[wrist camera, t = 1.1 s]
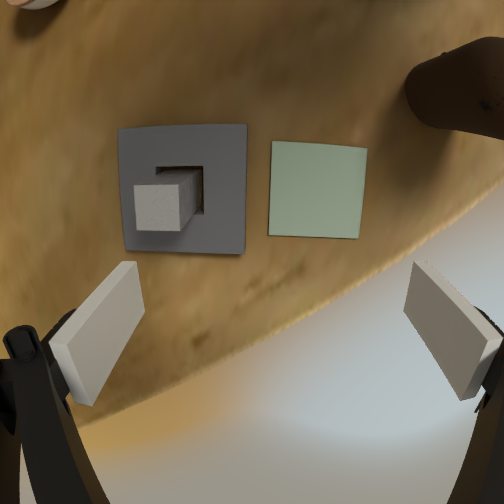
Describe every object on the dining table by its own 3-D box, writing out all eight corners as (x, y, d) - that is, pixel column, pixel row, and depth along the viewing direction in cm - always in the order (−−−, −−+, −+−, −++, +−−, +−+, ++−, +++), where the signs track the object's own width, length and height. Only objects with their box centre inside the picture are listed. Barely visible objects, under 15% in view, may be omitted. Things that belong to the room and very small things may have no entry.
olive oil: (448, 146, 37) (587, 182, 13) (389, 104, 35) (524, 93, 12) (472, 87, 33) (606, 86, 10) (417, 43, 32) (543, -5, 8)
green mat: (272, 140, 38) (272, 141, 37) (366, 148, 38) (367, 148, 37) (268, 233, 42) (268, 234, 42) (357, 237, 42) (358, 238, 42)
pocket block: (125, 128, 38) (117, 129, 35) (247, 124, 37) (246, 123, 35) (132, 243, 43) (125, 250, 41) (245, 247, 43) (244, 254, 41)
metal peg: (167, 169, 40) (133, 185, 29) (201, 169, 39) (178, 184, 29) (168, 203, 41) (136, 230, 30) (201, 203, 41) (180, 231, 30)
